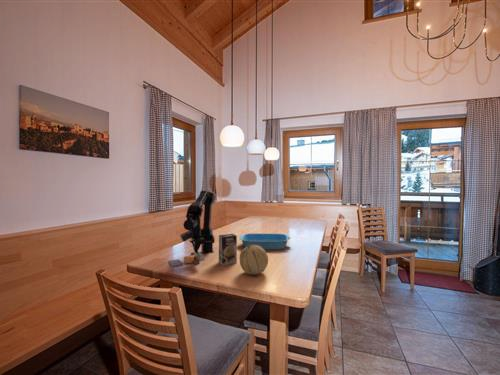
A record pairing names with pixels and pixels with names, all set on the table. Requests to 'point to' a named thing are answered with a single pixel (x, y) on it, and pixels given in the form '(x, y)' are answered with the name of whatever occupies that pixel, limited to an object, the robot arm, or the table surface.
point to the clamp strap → (199, 256)
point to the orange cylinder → (189, 259)
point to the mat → (176, 263)
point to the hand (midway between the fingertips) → (195, 253)
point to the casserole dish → (265, 240)
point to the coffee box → (227, 249)
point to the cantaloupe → (253, 259)
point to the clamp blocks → (195, 259)
